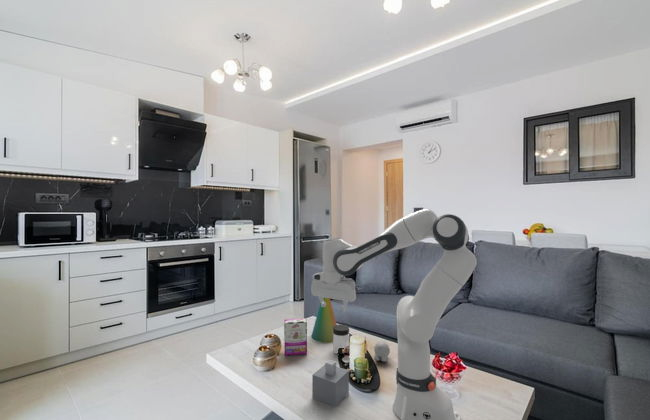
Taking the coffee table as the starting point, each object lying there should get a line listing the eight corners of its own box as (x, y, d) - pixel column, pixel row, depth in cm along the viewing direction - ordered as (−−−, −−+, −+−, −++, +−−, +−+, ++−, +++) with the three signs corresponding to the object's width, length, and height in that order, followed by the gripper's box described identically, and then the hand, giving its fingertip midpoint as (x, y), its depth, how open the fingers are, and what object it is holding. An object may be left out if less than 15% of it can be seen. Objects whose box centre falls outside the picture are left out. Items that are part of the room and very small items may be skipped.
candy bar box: (306, 350, 155) (306, 318, 155) (307, 354, 150) (307, 321, 150) (284, 351, 153) (284, 318, 153) (284, 356, 148) (284, 322, 148)
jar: (338, 356, 148) (338, 332, 148) (329, 350, 155) (329, 326, 155) (352, 352, 153) (353, 328, 153) (343, 345, 160) (343, 323, 160)
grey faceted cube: (348, 392, 119) (348, 360, 119) (335, 407, 110) (335, 372, 110) (326, 384, 125) (326, 353, 125) (312, 397, 116) (312, 364, 116)
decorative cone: (324, 345, 160) (324, 288, 160) (305, 335, 172) (305, 282, 172) (345, 336, 171) (346, 283, 171) (326, 328, 183) (326, 278, 183)
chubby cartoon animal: (391, 362, 148) (393, 343, 151) (386, 363, 138) (388, 343, 141) (377, 358, 151) (379, 340, 154) (371, 359, 141) (373, 340, 144)
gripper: (358, 277, 127) (358, 310, 127) (316, 272, 137) (317, 303, 137) (351, 280, 121) (352, 315, 121) (309, 275, 132) (309, 306, 132)
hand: (333, 308), depth 130 cm, fingers open, 8 cm apart
